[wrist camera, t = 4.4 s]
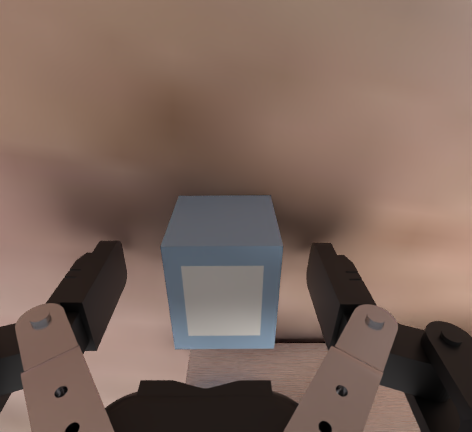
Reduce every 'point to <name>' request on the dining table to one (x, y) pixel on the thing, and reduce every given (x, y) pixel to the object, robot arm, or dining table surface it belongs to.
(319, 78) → the dining table surface
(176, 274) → the cartridge
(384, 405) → the tray
